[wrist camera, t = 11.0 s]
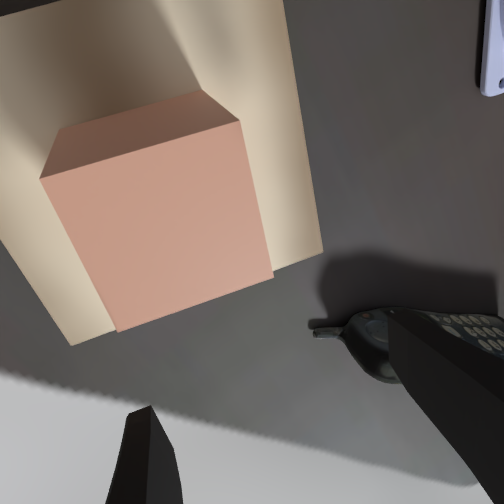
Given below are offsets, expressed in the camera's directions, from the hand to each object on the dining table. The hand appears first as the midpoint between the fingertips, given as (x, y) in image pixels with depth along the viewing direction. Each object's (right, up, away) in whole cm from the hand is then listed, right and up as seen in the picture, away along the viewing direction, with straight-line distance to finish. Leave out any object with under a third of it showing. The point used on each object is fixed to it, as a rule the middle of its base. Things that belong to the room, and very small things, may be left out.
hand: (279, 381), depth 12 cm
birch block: (-5, +8, +6) cm, 11 cm away
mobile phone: (+10, -1, +16) cm, 19 cm away
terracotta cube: (-4, +7, +4) cm, 9 cm away
